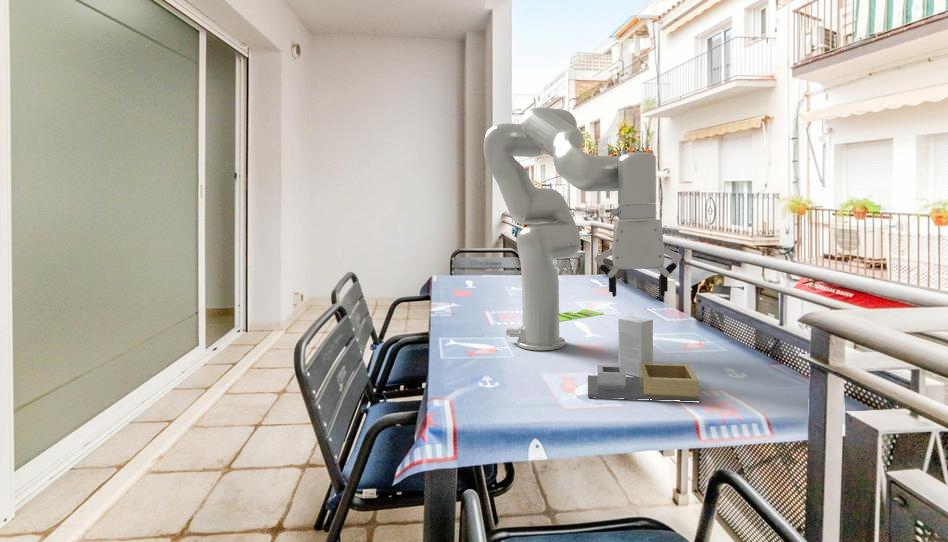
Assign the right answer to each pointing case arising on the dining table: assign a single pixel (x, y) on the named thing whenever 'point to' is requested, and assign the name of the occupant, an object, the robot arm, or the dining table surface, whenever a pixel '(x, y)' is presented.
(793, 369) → the dining table surface
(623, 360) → the skincare box
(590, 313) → the door hanger
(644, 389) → the plate
